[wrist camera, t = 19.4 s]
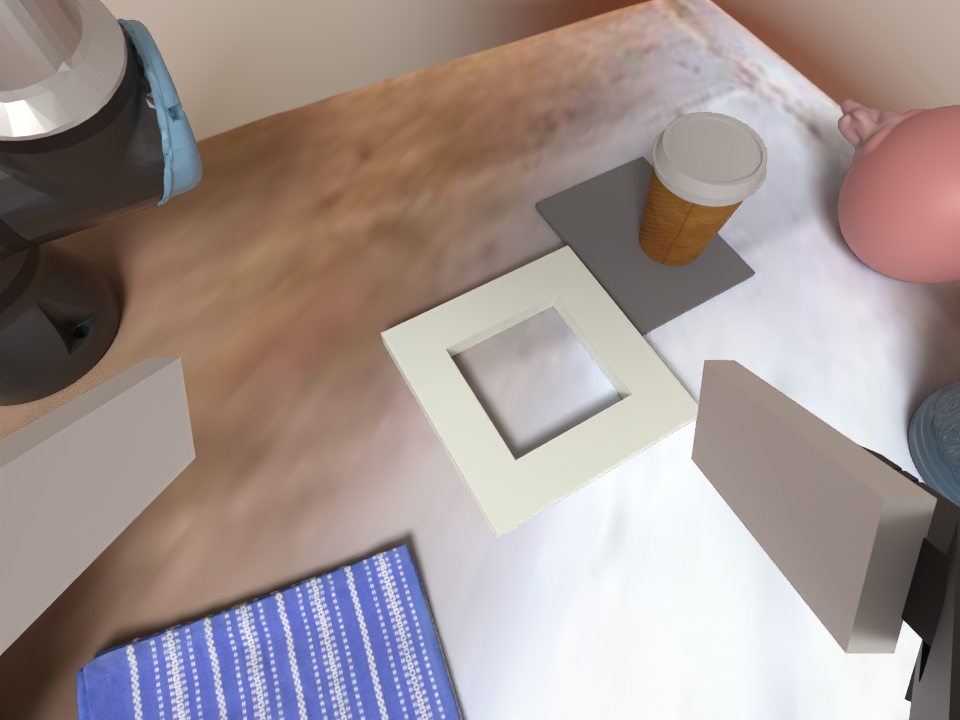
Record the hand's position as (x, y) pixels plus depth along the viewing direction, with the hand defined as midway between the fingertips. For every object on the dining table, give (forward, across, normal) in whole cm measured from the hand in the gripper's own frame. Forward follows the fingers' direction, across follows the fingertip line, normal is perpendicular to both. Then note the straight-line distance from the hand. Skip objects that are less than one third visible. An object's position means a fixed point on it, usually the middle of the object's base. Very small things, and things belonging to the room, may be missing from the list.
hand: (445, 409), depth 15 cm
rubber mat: (+46, +18, 0) cm, 49 cm away
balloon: (+47, +42, 0) cm, 63 cm away
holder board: (+35, +6, -12) cm, 37 cm away
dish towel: (+17, -12, -30) cm, 37 cm away
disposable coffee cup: (+45, +21, 0) cm, 50 cm away
